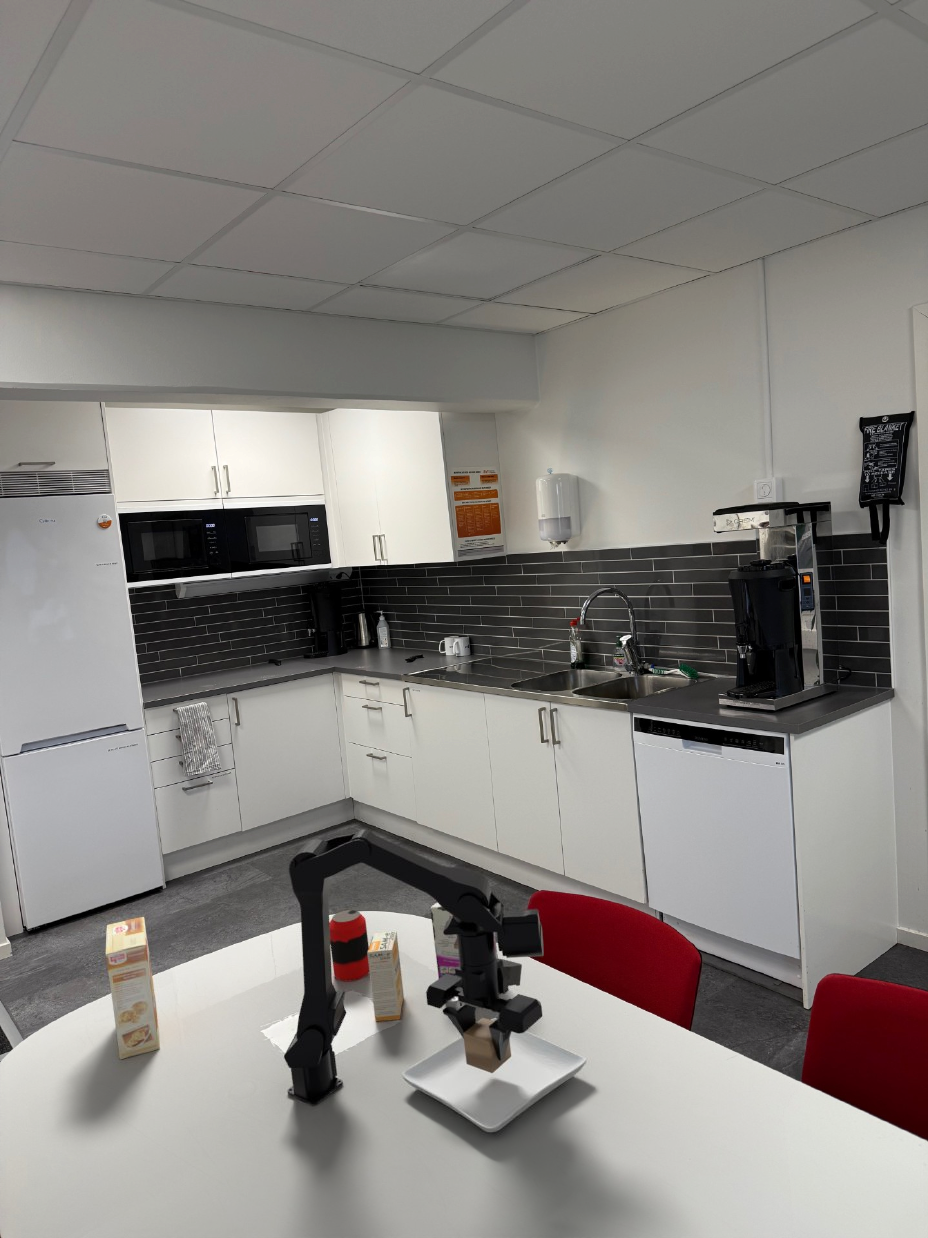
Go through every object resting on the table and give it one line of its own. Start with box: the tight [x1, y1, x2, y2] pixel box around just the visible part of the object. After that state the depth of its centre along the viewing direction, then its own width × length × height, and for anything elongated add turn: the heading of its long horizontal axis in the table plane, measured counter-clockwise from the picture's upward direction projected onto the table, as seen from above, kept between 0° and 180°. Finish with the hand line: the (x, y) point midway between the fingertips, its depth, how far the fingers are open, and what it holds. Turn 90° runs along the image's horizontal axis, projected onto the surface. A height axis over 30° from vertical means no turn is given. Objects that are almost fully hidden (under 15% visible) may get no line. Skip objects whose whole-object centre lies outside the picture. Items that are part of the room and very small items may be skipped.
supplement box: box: [367, 931, 404, 1022], centre depth 160 cm, size 8×5×13 cm, turn 179°
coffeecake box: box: [105, 916, 161, 1060], centre depth 160 cm, size 15×7×20 cm, turn 22°
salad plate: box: [401, 1017, 587, 1133], centre depth 134 cm, size 21×21×3 cm
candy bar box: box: [430, 900, 499, 979], centre depth 166 cm, size 11×5×16 cm, turn 73°
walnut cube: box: [463, 1017, 511, 1073], centre depth 134 cm, size 5×5×5 cm
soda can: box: [329, 909, 370, 982], centre depth 176 cm, size 8×8×12 cm
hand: (487, 1054), depth 134 cm, fingers closed on walnut cube, 5 cm apart
